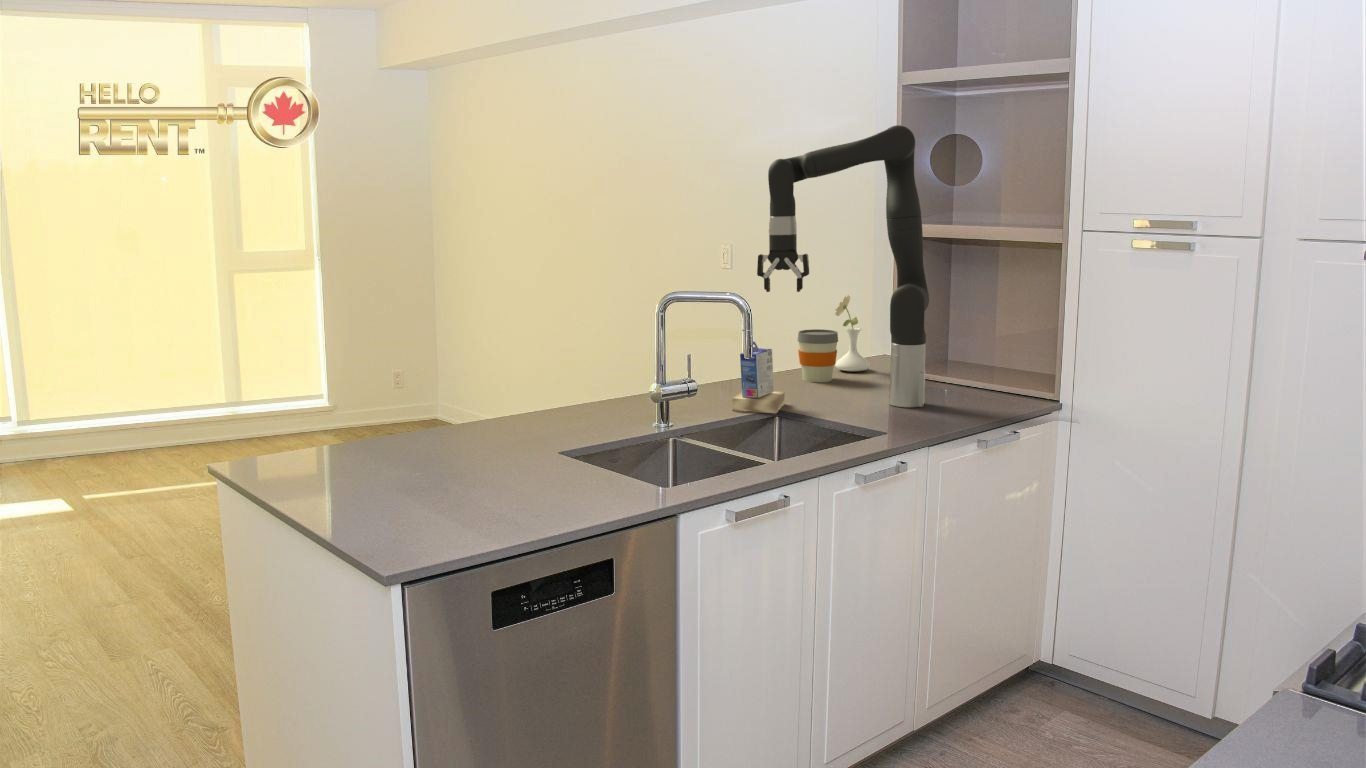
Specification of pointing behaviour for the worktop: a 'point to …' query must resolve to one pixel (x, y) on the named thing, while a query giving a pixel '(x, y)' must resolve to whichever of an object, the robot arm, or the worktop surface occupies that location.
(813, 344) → the reusable coffee cup
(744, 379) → the ink cartridge box
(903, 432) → the worktop surface
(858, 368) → the flower in vase
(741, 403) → the birch block
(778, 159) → the robot arm
